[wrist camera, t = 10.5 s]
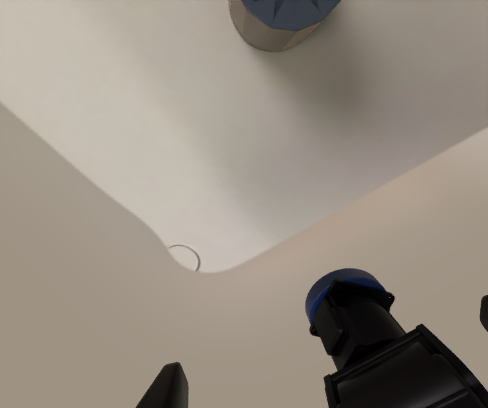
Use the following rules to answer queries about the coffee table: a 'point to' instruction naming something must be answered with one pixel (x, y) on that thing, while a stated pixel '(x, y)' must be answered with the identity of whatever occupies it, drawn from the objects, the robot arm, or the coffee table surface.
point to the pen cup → (278, 21)
